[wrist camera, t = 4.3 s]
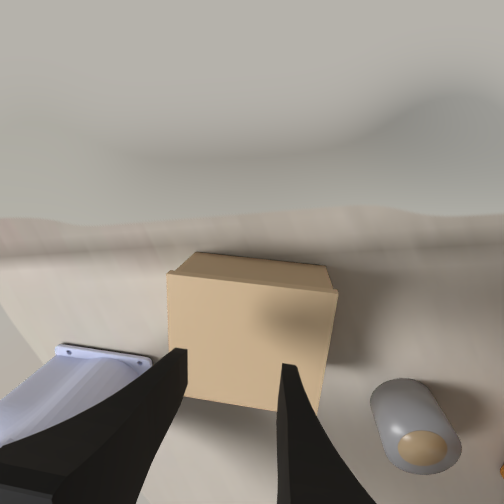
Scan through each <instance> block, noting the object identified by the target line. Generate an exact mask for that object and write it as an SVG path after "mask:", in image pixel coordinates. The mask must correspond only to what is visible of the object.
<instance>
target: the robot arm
mask: <svg viewBox="0 0 504 504" xmlns="http://www.w3.org/2000/svg"><path fill="white" fill-rule="evenodd" d="M55 354H56V356H54V357H53V358H52V359H51V360H49V361H48V362H47V363H46V364H44V365H43V366H42V367H41V368H39V369H38V370H37V371H36V372H34V373H33V374H32V375H31V376H30V377H28V378H27V379H26V380H25V381H23V382H22V383H21V384H20V385H18V386H17V387H16V388H15V389H14V390H12V391H11V392H10V393H9V394H7V395H6V396H5V397H4V398H2V399H1V400H0V504H136V501H137V498H138V496H139V493H140V491H141V488H142V486H143V483H144V481H145V478H146V476H147V473H148V471H149V468H150V466H151V463H152V461H153V459H154V457H155V455H156V453H157V451H158V449H159V447H160V445H161V443H162V441H163V439H164V437H165V435H166V433H167V431H168V429H169V427H170V425H171V423H172V421H173V419H174V417H175V415H176V413H177V411H178V408H179V406H180V404H181V401H182V399H183V396H184V393H185V390H186V388H187V385H188V349H183V348H176V347H175V348H174V349H173V350H172V351H170V352H169V353H168V354H167V355H165V356H164V357H163V358H162V359H160V360H159V361H158V362H157V363H156V364H154V365H153V366H152V360H151V359H150V358H148V357H143V356H137V355H130V354H124V353H117V352H110V351H104V350H97V349H91V348H84V347H77V346H71V345H64V344H59V345H57V346H56V347H55ZM140 361H141V362H140ZM276 426H277V463H278V495H277V504H376V503H375V501H374V500H373V499H372V498H371V497H370V495H369V494H368V493H367V492H366V490H365V489H364V488H363V487H362V485H361V484H360V483H359V482H358V480H357V479H356V478H355V476H354V475H353V473H352V472H351V471H350V469H349V468H348V466H347V465H346V464H345V462H344V461H343V460H342V458H341V457H340V455H339V454H338V452H337V451H336V449H335V447H334V446H333V444H332V443H331V441H330V439H329V438H328V436H327V434H326V433H325V431H324V429H323V427H322V425H321V424H320V422H319V420H318V418H317V416H316V414H315V412H314V410H313V408H312V406H311V403H310V401H309V399H308V396H307V394H306V392H305V389H304V387H303V384H302V381H301V378H300V375H299V371H298V367H297V366H296V365H292V364H286V363H282V369H281V377H280V385H279V394H278V405H277V420H276Z"/></svg>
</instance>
